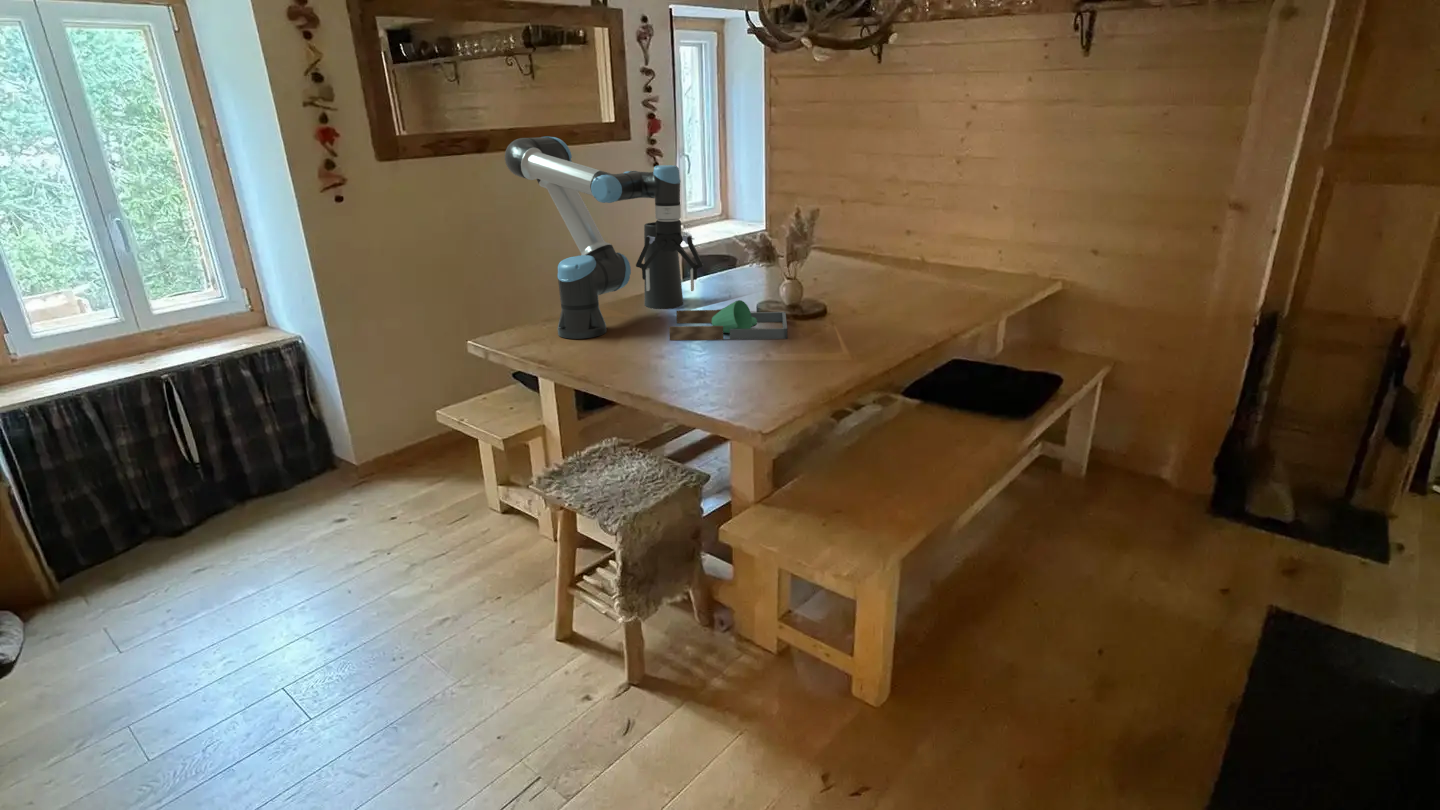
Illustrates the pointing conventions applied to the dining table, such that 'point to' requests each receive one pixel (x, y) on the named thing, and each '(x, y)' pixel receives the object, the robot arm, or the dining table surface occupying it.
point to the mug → (734, 317)
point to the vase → (662, 275)
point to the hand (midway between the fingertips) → (670, 290)
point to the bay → (696, 331)
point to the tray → (763, 332)
